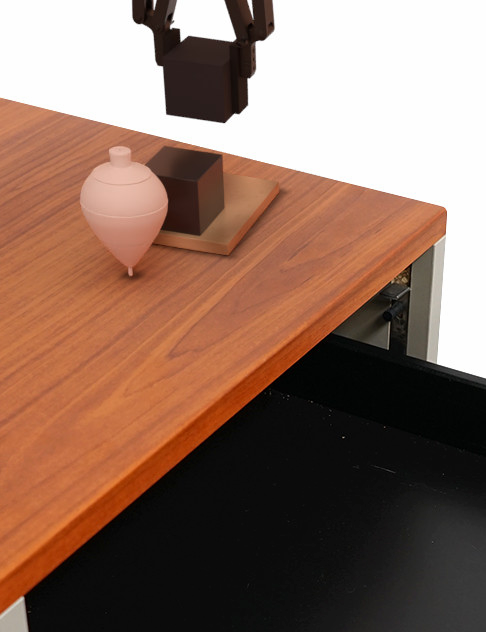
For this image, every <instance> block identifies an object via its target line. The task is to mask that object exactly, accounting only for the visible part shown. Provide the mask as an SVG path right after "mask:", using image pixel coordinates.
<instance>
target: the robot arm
mask: <svg viewBox="0 0 486 632" xmlns="http://www.w3.org/2000/svg"><path fill="white" fill-rule="evenodd" d="M154 1H155V2H154ZM223 1H224V4H225V7H226V11H227V13H228V16H229V19H230V23H231V27H232V29H233V33H234V35H235V36H234V37H235V38H236V39H234V40H233V41H231V42H232V43H231V44H230V45H229V53H230V67H231V93H232V113H233V114H234V115H241V114H242V112H243V111H244V110H245V109H246V108H247V107H249V82H247V78H248V79H251V78H252V77H253V76H254V75H255V73H256V71H257V48H256V47H257V46H256V45H257V44H256V43H257V42H264V41H266V40H267V39H268V38H269V37H270V36H271V35H272V34H273V33H274V31H275V29H276V26H275V25H276V24H275V14H274V1H273V0H251V8H250V5H249V2H248V0H223ZM177 2H178V0H131V18H132V20H133V22H134V23H135V24H136V25H142V26H145V27H147V28H149V30H151V32H152V36H153V48H154V60H155V63H156V66H157V67H162V68H163V62H162V57H163V56H165V55H166V54H167V53H168V52H169V51H171V50H172V49H173V48H174V47H176V46H177V45H178V44H179V43H180V42H181V41H182V39H181V29H180V28H178V27H171V26H172V25H174V23H175V20H174V16H175V13H176V7H177ZM251 9H252V10H251Z"/></svg>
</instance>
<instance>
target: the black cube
mask: <svg viewBox="0 0 486 632" xmlns="http://www.w3.org/2000/svg"><path fill="white" fill-rule="evenodd" d="M232 42H233V41H230V40H224V39H223V40H222V39H216V38H210V37H209V38H208V37H201V36H194V35H187V36H186V37H185V38H184V39H182V40H181V42H180V43H179V44H178V45H177V46H176V47H174V48H173V49H172V50H171V51H169V52H168V53H167V54H166V55H165V56H163V57H162V62H163V67H162V73H163V77H162V78H163V90H164V103H165V115H166V116H172V117H179V118H186V119H192V120H199V121H206V122H212V123H219V124H226V123H227V122H228V121H229V120H230V119H231V118H232V117H233V116H234V115H235V114H233V113H232V93H231V67H230V53H229V45H230V44H231V43H232ZM248 79H249V78H247V82H248V81H249V80H248ZM248 83H249V82H248Z"/></svg>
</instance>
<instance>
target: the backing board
mask: <svg viewBox="0 0 486 632" xmlns="http://www.w3.org/2000/svg"><path fill="white" fill-rule="evenodd" d="M144 165H145V166H147V167H148V168H149V169H150V170H151V171H152V172H153V173H154V174H155V175H156V176H157V177H158V178H159V180H160V181H161V183H162V184H163V186H164V188H165V190H166V193H167V198H168V209H167V214H166V217H165V220H164V222H163V224H162V227H161V229H160V231H159V233H158V235H157V236H156V238H155V239H154V241H153V242H152V245H153V244H154V245H160V246H165V247H166V246H167V247H171V248H178V249H179V248H180V249H185V250H191V251H196V252H197V251H198V252H204V253H209V254H217V255H223V256H229V255H230V254H231V253H232V251H234V249H235V247H236V246H238V244H239V243H240V242H241V240H242V239H243V238H244V236H245V235H246V234H247V233H248V232H249V231H250V229H251V228H252V227H253V225H254V224H255V223H256V221H258V219H259V218H260V217H261V215H262V214H263V213H264V212H265V211H266V210H267V208H268V206H269V205H271V203H272V202H273V200H274V199H275V198H276V197H277V196H278V194H280V181H279V180H273V179H266V178H261V177H260V178H259V177H253V176H246V175H242V174H241V175H240V174H233V173H226V172H224V159H223V154H222V153H214V152H209V151H201V150H195V149H189V148H183V147H182V148H181V147H176V146H168V145H163V146H162V147H161V148H160V150H158V151H157V152H156V153H155V154H154V155H153V156H152V157H151V158H150V159H149V160H148V161H147V162H145V164H144Z"/></svg>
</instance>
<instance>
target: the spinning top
mask: <svg viewBox="0 0 486 632" xmlns="http://www.w3.org/2000/svg"><path fill="white" fill-rule="evenodd" d="M108 154H109V161H107V162H104V163H101V164H99V165H96V167H95V168H93V169H92V170H91V173H90V174H89V175H88V176H87V177H86V179H85V180H84V182H83V184H82V187H81V190H80V192H79V193H80V194H79V204H80V208H81V213H82V215H83V217H84V219H85V221H86V223H87V224H88V226H89V227H90V229H91V230H92V233H93V234H94V235H95V237H96V238H97V239H98V240H99V241H100V242H101V244H102V245H104V247H105V248H106V249H107V250H108V252H110V254H112V255H113V257H115V259H116V260H118V261H119V263H121V264H122V265H124V266H125V267H126V268H127V271H128V273H127V274H128V276H129V277H132V276H133V275H134V274H133V273H134V272H133V267H135V266H136V265H137V264H138V263H139V262H140V260H141V259H142V258H143V257H144V256H145V254H146V253H147V251H148V250H149V249H150V247H151V246H152V245H153V243H152V242H153V241H154V239H155V238H156V236H157V235H158V233H159V231H160V229H161V227H162V224H163V222H164V220H165V217H166V214H167V209H168V198H167V193H166V190H165V188H164V186H163V184H162V183H161V181H160V180H159V178H158V177H157V176H156V175H155V174H154V173H153V172H152V171H151V170H150V169H149V168H148V167H147V166H145V164H143V163H141V162H136V161H133V160H132V150H131V148H130V147H126V146H123V145H118V146H117V145H116V146H113V147H110V148H109V150H108Z"/></svg>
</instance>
